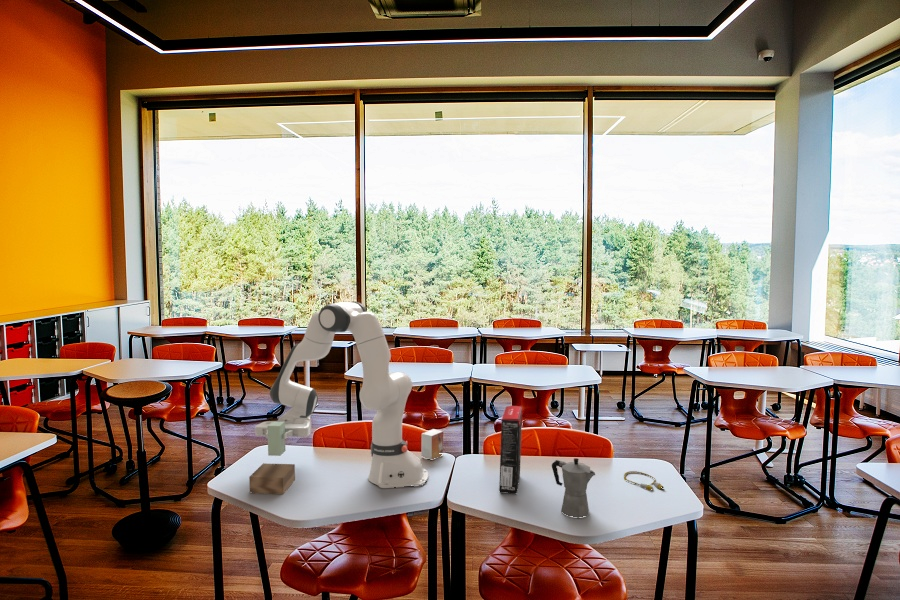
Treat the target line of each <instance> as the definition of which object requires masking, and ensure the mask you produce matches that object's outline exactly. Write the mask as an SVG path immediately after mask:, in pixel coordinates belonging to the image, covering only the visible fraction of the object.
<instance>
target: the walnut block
mask: <svg viewBox="0 0 900 600" xmlns="http://www.w3.org/2000/svg"><path fill="white" fill-rule="evenodd" d="M248 478H249V480H248V481H249V493H250V492H252V493H251V494H259V493H264V495H265V494H267V495H284V494H285V493H286V492H287V491H288V489H289V488H290V487H291V486H292V484H293V483H294V482H295V481H296V464H295V463H293V464H292V463H264V462H263V463H262V464H261V465H260V466H259V467H258V468H257V469H255V471H254V472H253V473H251V474H250V475H249V477H248Z"/></svg>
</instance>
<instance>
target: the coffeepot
mask: <svg viewBox="0 0 900 600" xmlns="http://www.w3.org/2000/svg"><path fill="white" fill-rule="evenodd" d="M579 461H580V459H579V458H573V461H571V462H570V461H569V462H566V461H562V460H558V459H555V460H554V461H553V462H552V463H551V468H552V469H551V470H552V472H553V475H554V480H555V483H556V485H557V486H561V487H562V486H563V487H564V493H563V494H564V495H563V499H562V505H561V509H560V510H561V511H560V512H561V513H562V512H563V513H564V514H566V515H568V516H573V517H583V516H586V517H588V516H589V513H590V509H589V501H588V495H587V489H588V484H589V483H590V480H591V479H592V478H593V477H594V476H596V472H594V470H591V466H589V465H586V464H585V463H583V462H579ZM558 467H559V468H561V472H562V473H561V474H562V479H563V481H562V482H560V475H559V472H558ZM563 513H562V514H563ZM564 514H563V515H564ZM566 515H565V516H566ZM568 516H567V517H568Z"/></svg>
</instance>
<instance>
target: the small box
mask: <svg viewBox="0 0 900 600" xmlns="http://www.w3.org/2000/svg"><path fill="white" fill-rule="evenodd" d="M420 447H421V453H420V455H421V456H423V457H425V458H429V459H434V458H436V459H438V458H437V457H439V458H441V457H442V456H441V455H442V454H439V453H443V454H444V431H443V430H440V429H435V428H432V429H429V430H427V431H426V432H422V433H421V445H420ZM421 456H420V457H421ZM440 456H441V457H440ZM434 460H435V459H434Z"/></svg>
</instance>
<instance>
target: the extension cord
mask: <svg viewBox="0 0 900 600" xmlns="http://www.w3.org/2000/svg"><path fill="white" fill-rule="evenodd" d="M628 473H629V474H638V473H641V474H640V475H643V474H645V475H644V476H646V475H648V476H647V477H649V476H650V477H649V478H651V477H652V478H651V479H653V478H654V479H655V480H654V479H653V482H652V483H651V484H652V485H653V486H655V487H656V488H657V489H659V490H660V489H661V487H662V488H664V489H665V487H664V486H663V485H662V484H661V483H660V482H657V481H656V478H655V477H653V476H652V475H649V474H647V473H645V472H642V471H635V470H630V471H627V472H624V475H623V480H624V479H625V480H627V481H628V482H631V484H632V483H635V484H634V485H636V484H638V485H637V486H641V487H640V488H642V487H643V489H644V488H646V489H645V490H647V489H648V490H647V491H650V490H651V489H653V490H654V488H653V486H652V485H647V484H645V483H638V482H635V481H632V480H629V479H627V478H626V476H627V475H628ZM626 474H627V475H626ZM625 475H626V476H625ZM627 481H626V482H627ZM661 490H662V489H661ZM651 491H652V490H651Z"/></svg>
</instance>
